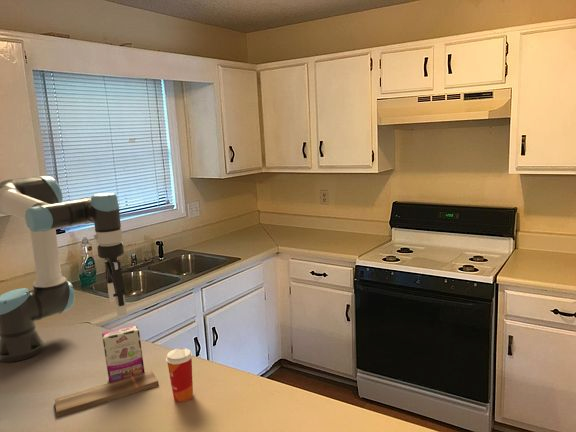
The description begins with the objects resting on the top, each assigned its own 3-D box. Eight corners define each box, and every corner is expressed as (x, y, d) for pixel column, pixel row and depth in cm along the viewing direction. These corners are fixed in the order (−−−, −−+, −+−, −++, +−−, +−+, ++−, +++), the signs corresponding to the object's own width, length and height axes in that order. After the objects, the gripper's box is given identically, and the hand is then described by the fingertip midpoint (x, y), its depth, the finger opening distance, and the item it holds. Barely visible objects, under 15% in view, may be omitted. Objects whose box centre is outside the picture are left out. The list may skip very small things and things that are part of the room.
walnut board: (55, 403, 141) (54, 398, 141) (152, 374, 155) (151, 370, 154) (57, 416, 134) (56, 411, 134) (158, 385, 148) (158, 380, 148)
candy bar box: (143, 370, 158) (137, 324, 155) (145, 376, 154) (139, 329, 151) (107, 379, 153) (101, 332, 150) (109, 386, 149) (102, 338, 146)
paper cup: (174, 390, 145) (169, 347, 142) (198, 389, 144) (194, 346, 142) (166, 404, 137) (161, 360, 134) (193, 404, 137) (188, 359, 134)
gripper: (91, 237, 154) (99, 299, 158) (103, 253, 133) (112, 324, 137) (115, 234, 158) (122, 294, 162) (130, 249, 136) (138, 318, 141)
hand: (117, 308), depth 149 cm, fingers open, 13 cm apart
